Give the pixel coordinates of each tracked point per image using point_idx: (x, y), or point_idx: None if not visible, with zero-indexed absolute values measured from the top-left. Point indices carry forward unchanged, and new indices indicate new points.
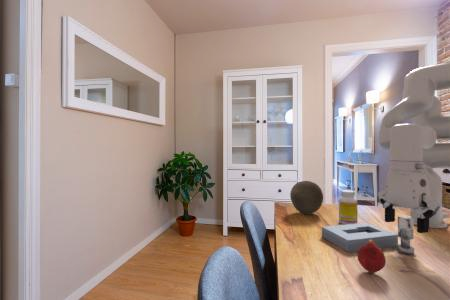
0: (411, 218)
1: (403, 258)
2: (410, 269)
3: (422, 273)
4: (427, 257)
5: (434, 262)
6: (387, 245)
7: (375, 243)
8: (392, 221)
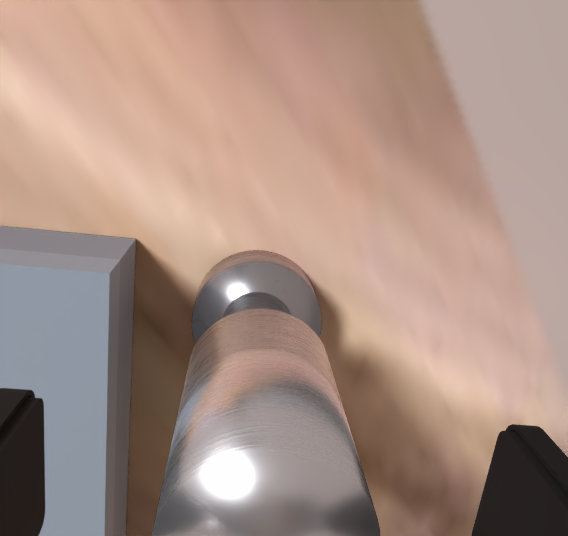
0: (328, 491)
1: None
2: (436, 515)
3: None
4: (389, 243)
5: (457, 284)
6: (128, 357)
7: (119, 492)
8: (41, 433)
